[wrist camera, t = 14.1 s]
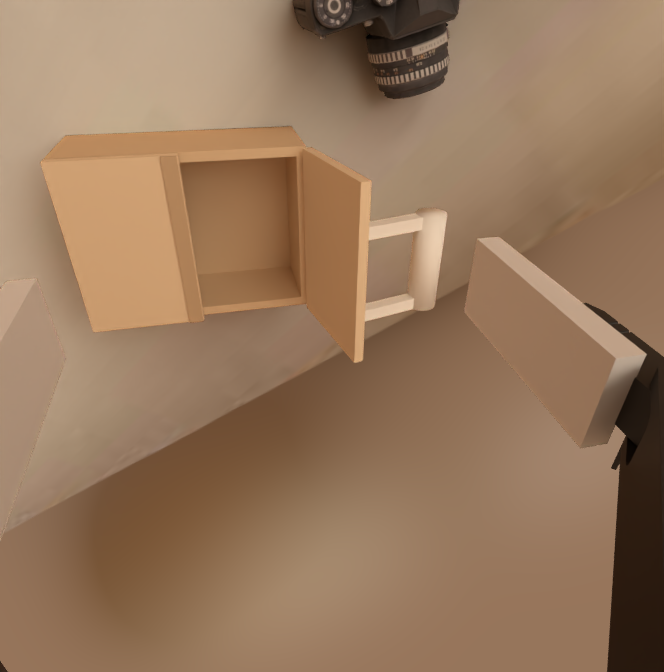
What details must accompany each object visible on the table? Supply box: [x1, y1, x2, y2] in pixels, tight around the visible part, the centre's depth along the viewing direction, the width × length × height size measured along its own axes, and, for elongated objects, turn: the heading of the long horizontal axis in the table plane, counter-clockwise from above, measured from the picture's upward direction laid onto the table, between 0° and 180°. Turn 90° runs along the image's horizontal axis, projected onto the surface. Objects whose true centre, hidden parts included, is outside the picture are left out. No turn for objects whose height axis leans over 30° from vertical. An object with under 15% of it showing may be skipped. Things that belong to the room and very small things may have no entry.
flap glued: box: [40, 153, 204, 332], centre depth 42 cm, size 15×10×1 cm, turn 0°
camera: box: [293, 0, 460, 99], centre depth 41 cm, size 14×11×10 cm
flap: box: [303, 147, 447, 363], centre depth 43 cm, size 15×10×8 cm
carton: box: [44, 126, 307, 315], centre depth 47 cm, size 15×20×8 cm
